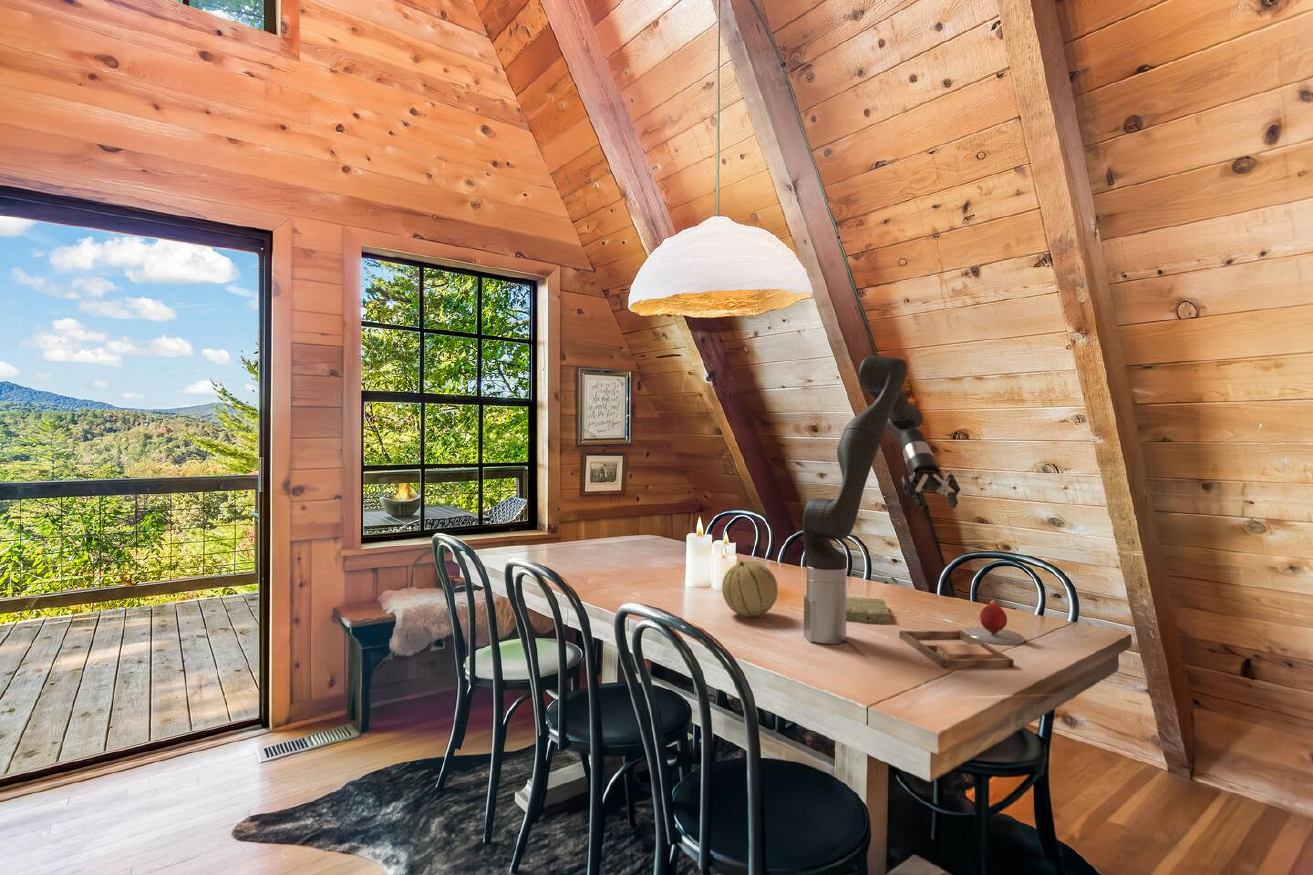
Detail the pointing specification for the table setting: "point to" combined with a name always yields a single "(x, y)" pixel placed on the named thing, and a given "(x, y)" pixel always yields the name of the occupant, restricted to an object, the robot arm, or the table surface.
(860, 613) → the green flat block
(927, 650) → the brown flat frame
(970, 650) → the offcut top
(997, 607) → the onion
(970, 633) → the plate
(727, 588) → the cantaloupe
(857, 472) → the robot arm
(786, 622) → the table surface
